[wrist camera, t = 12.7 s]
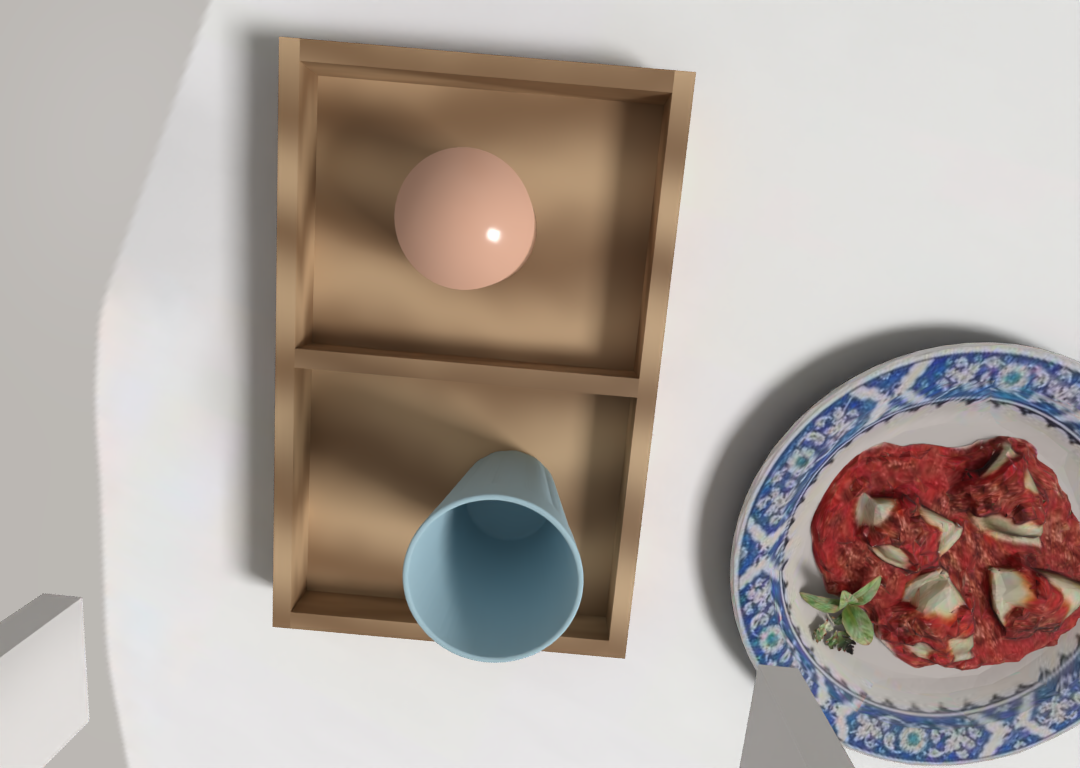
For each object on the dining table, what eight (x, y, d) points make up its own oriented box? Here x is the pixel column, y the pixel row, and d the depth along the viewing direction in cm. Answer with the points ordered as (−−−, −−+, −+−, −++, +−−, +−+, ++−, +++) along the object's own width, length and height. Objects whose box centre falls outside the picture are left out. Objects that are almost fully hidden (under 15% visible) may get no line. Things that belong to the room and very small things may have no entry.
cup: (439, 552, 38) (399, 657, 28) (445, 426, 37) (404, 488, 27) (568, 561, 38) (574, 669, 28) (578, 436, 37) (589, 501, 27)
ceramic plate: (1132, 285, 36) (1183, 286, 33) (1178, 689, 40) (1227, 722, 37) (677, 403, 38) (688, 415, 35) (769, 779, 42) (785, 817, 39)
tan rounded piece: (428, 165, 34) (397, 141, 28) (541, 175, 34) (538, 153, 27) (422, 279, 35) (391, 283, 29) (532, 289, 35) (526, 295, 29)
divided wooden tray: (306, 59, 34) (278, 36, 31) (681, 91, 34) (695, 72, 31) (296, 595, 40) (272, 626, 37) (618, 624, 40) (624, 658, 37)
